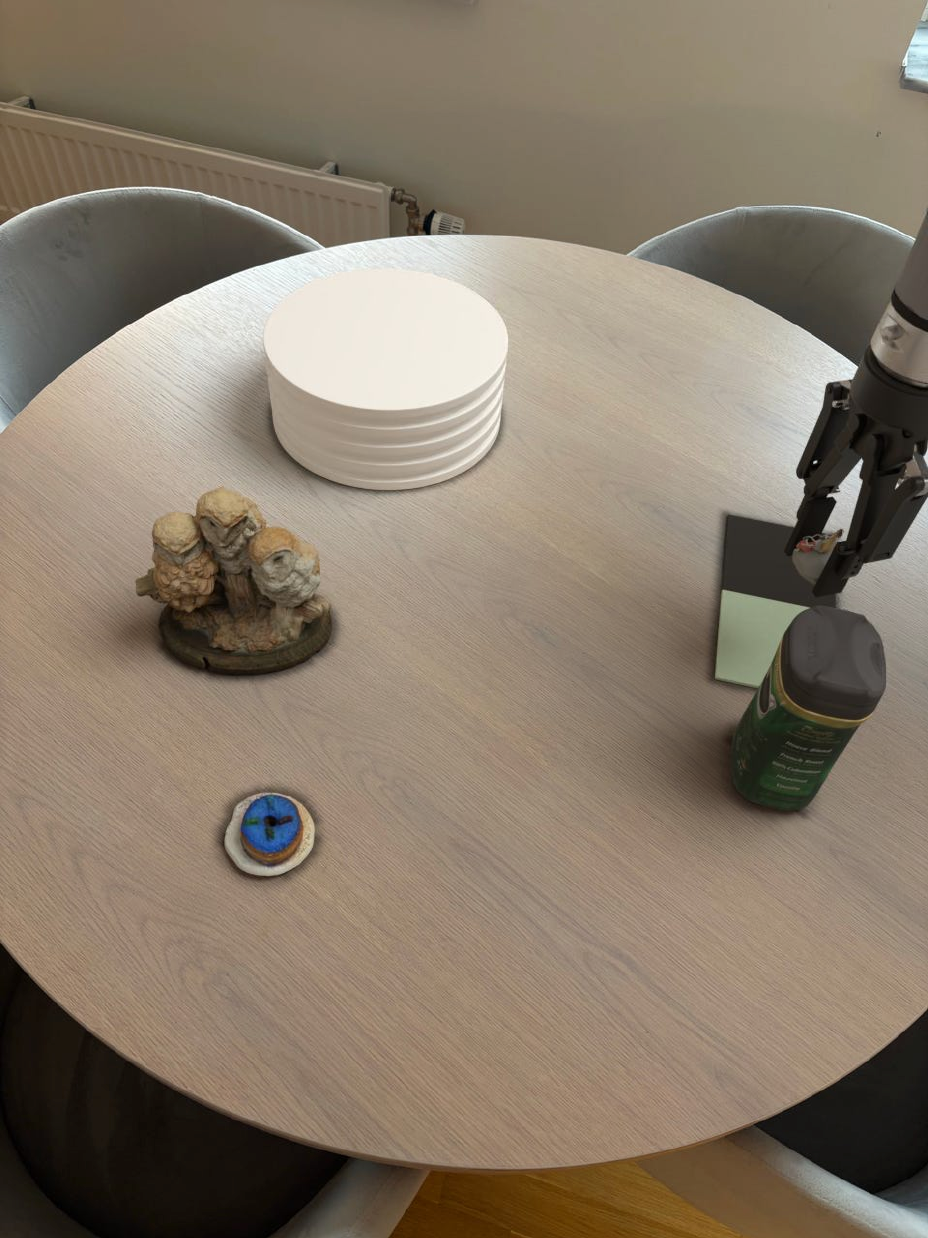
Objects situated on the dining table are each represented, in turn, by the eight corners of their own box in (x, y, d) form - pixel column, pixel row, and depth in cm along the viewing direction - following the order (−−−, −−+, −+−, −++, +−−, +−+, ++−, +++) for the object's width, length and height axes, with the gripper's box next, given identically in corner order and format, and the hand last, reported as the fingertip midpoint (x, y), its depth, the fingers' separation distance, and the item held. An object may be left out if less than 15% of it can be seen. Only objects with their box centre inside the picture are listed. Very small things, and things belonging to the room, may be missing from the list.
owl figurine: (142, 678, 90) (98, 554, 77) (159, 585, 98) (122, 458, 85) (332, 674, 92) (322, 552, 79) (335, 583, 99) (325, 458, 86)
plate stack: (459, 334, 129) (463, 256, 121) (532, 466, 113) (544, 387, 104) (253, 364, 123) (242, 283, 114) (299, 509, 106) (291, 428, 97)
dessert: (325, 864, 78) (277, 841, 74) (265, 899, 80) (215, 879, 76) (313, 784, 84) (267, 759, 80) (257, 819, 86) (209, 796, 81)
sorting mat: (837, 706, 93) (838, 703, 92) (714, 679, 94) (715, 676, 94) (832, 537, 108) (834, 535, 108) (727, 516, 109) (728, 514, 109)
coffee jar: (815, 822, 84) (900, 703, 70) (726, 802, 85) (792, 681, 71) (813, 734, 90) (892, 607, 76) (730, 716, 91) (792, 587, 77)
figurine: (823, 599, 87) (847, 554, 82) (778, 577, 88) (799, 532, 84) (842, 565, 90) (866, 520, 85) (798, 545, 91) (820, 499, 87)
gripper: (814, 301, 76) (733, 513, 93) (944, 442, 65) (825, 651, 83) (895, 291, 77) (800, 501, 95) (1034, 427, 67) (898, 635, 84)
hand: (812, 570), depth 89 cm, fingers closed on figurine, 5 cm apart
